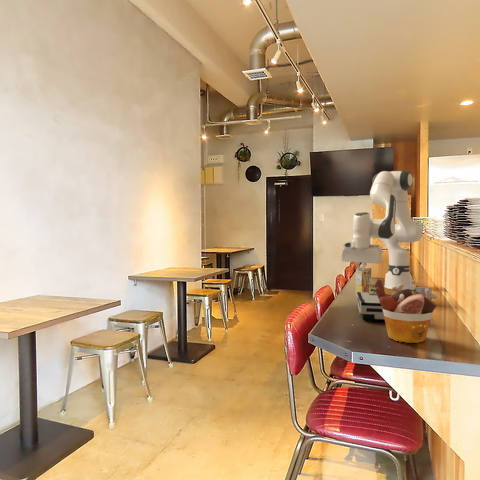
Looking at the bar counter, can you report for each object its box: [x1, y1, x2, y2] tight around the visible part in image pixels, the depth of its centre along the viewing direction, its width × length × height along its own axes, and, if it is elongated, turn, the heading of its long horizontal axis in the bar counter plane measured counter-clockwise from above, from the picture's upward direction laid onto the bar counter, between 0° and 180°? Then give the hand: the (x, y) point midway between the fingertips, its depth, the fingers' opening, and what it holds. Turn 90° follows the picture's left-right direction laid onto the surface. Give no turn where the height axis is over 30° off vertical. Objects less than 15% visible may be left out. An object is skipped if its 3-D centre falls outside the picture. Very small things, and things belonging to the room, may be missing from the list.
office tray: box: [356, 292, 395, 322], centre depth 170 cm, size 21×32×8 cm, turn 166°
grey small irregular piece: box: [415, 286, 433, 301], centre depth 191 cm, size 7×7×8 cm
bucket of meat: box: [375, 279, 439, 344], centre depth 133 cm, size 20×16×20 cm
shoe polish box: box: [369, 277, 385, 294], centre depth 196 cm, size 5×5×12 cm
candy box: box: [355, 266, 372, 298], centre depth 213 cm, size 9×4×15 cm, turn 129°
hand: (360, 271), depth 201 cm, fingers closed
